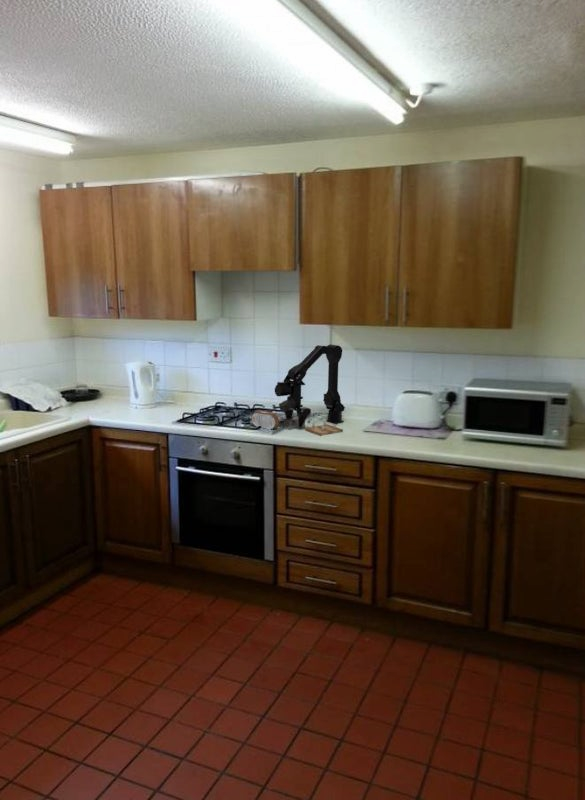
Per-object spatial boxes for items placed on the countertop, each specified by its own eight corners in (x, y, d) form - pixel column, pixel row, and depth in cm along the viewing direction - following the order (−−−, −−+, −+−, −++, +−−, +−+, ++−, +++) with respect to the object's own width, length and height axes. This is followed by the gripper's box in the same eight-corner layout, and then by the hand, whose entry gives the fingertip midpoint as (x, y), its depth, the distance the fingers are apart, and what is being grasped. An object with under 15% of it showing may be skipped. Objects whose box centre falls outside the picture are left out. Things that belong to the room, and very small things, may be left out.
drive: (299, 425, 321) (299, 416, 320) (304, 427, 318) (304, 417, 317) (284, 428, 314) (284, 418, 313) (289, 430, 311) (289, 420, 310)
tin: (279, 429, 311) (279, 412, 310) (276, 431, 309) (276, 414, 307) (253, 425, 319) (253, 409, 317) (250, 426, 316) (250, 410, 314)
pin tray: (327, 426, 319) (327, 419, 318) (342, 431, 309) (343, 424, 309) (304, 430, 311) (304, 422, 310) (320, 435, 301) (320, 428, 301)
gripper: (270, 393, 315) (270, 423, 318) (293, 399, 300) (292, 431, 303) (289, 390, 322) (288, 421, 325) (312, 397, 307) (311, 428, 310)
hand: (294, 425), depth 316 cm, fingers open, 9 cm apart
